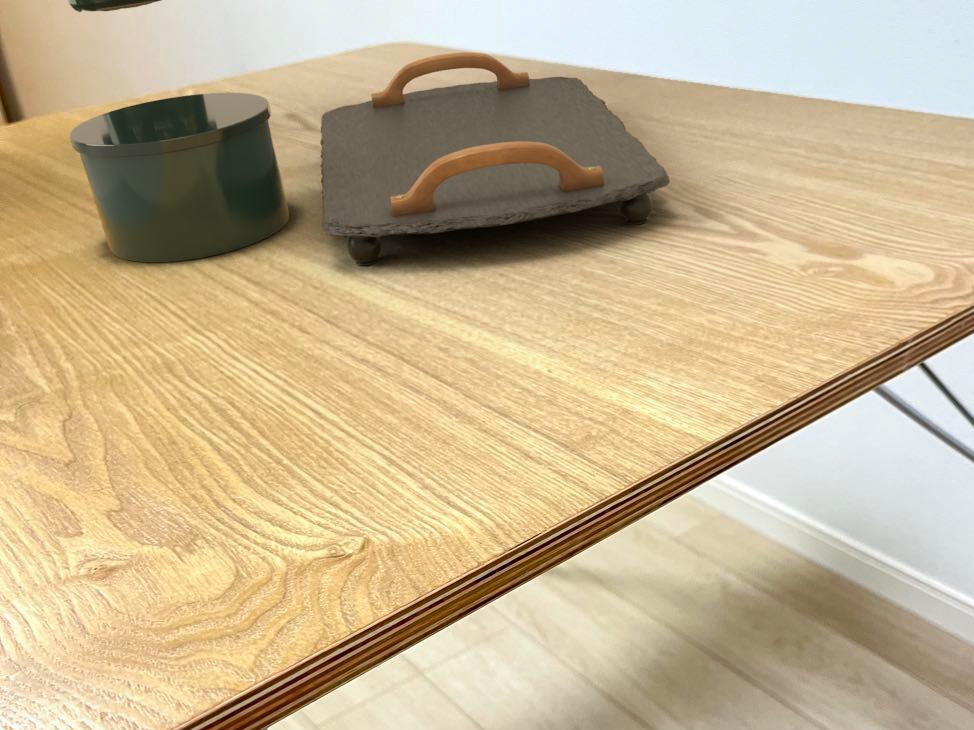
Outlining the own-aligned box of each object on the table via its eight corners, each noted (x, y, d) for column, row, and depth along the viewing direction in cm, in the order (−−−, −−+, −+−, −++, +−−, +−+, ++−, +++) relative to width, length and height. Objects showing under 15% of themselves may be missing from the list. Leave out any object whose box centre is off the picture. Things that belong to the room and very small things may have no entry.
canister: (71, 268, 79) (31, 150, 75) (152, 205, 90) (122, 99, 86) (257, 259, 77) (227, 137, 72) (316, 195, 88) (294, 86, 83)
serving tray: (325, 137, 103) (311, 64, 99) (577, 101, 105) (571, 28, 101) (329, 289, 71) (308, 189, 67) (692, 234, 73) (689, 134, 69)
